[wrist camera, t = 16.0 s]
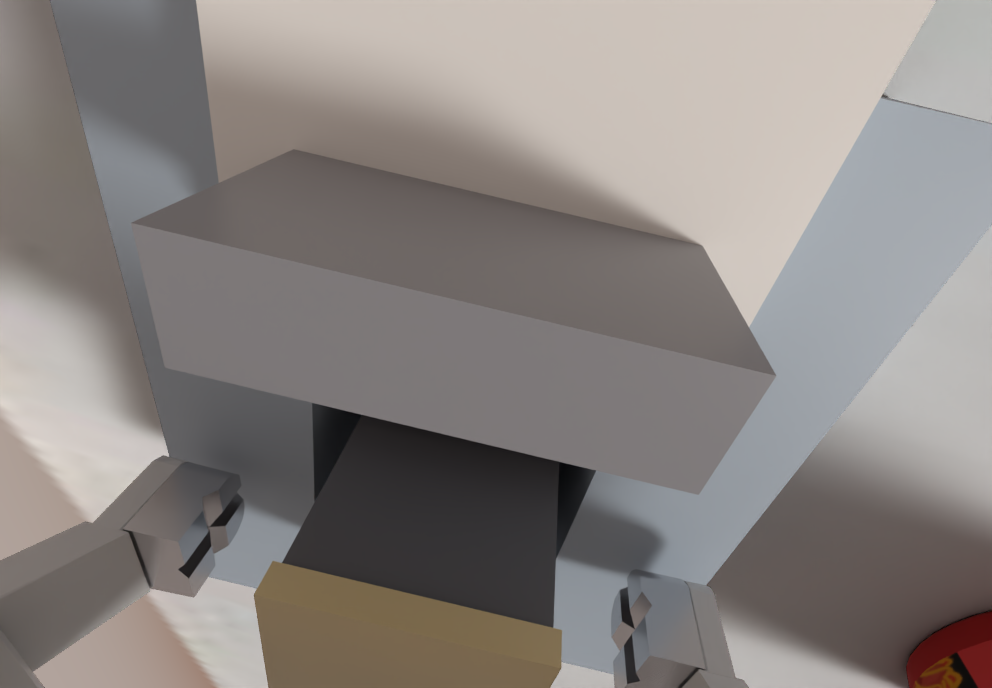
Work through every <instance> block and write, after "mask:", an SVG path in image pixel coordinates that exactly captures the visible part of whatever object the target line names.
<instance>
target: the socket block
mask: <svg viewBox="0 0 992 688" xmlns="http://www.w3.org/2000/svg"><path fill="white" fill-rule="evenodd" d="M50 3H51V6H52V10H53V14H54V18H55V22H56V26H57V29H58V33H59V37H60V41H61V45H62V48H63V52H64V56H65V60H66V64H67V67H68V71H69V75H70V79H71V83H72V87H73V90H74V94H75V98H76V102H77V106H78V109H79V113H80V117H81V121H82V125H83V129H84V132H85V136H86V140H87V144H88V148H89V151H90V155H91V159H92V163H93V167H94V170H95V174H96V178H97V182H98V186H99V190H100V193H101V197H102V201H103V205H104V209H105V212H106V216H107V220H108V224H109V228H110V232H111V235H112V239H113V243H114V247H115V251H116V254H117V258H118V262H119V266H120V270H121V273H122V277H123V281H124V285H125V289H126V293H127V296H128V300H129V304H130V308H131V312H132V315H133V319H134V323H135V327H136V331H137V335H138V338H139V342H140V346H141V350H142V354H143V357H144V361H145V365H146V369H147V373H148V376H149V380H150V384H151V388H152V392H153V396H154V399H155V403H156V407H157V411H158V415H159V418H160V422H161V426H162V430H163V434H164V438H165V441H166V445H167V449H168V453H169V457H172V458H176V459H180V460H184V461H189V462H191V463H195V464H199V465H203V466H207V467H211V468H215V469H219V470H223V471H227V472H231V473H235V474H239V476H240V480H241V485H242V486H241V487H240V488H239V490H238V491H237V493H238V494H239V495H240V496H241V497H242V498H243V499H244V506H245V509H244V516H243V520H242V522H241V524H240V527H239V529H238V532H237V534H236V535H235V537H234V538H233V540H232V541H231V543H230V545H229V546H227V547H225V548H224V549H222V550H220V551H218V552H217V553H215V567H214V569H213V570H212V572H211V573H210V575H209V576H208V577H211V578H215V579H219V580H223V581H228V582H232V583H236V584H240V585H244V586H248V587H253V588H258V586H259V585H260V583H261V581H262V579H263V577H264V576H265V574H266V572H267V570H268V568H269V567H270V565H271V563H272V561H276V562H280V563H282V562H283V560H284V558H285V556H286V554H287V553H288V551H289V549H290V547H291V545H292V543H293V541H294V540H295V538H296V536H297V534H298V532H299V530H300V528H301V527H302V525H303V523H304V521H305V519H306V517H307V516H308V514H309V512H310V510H311V508H312V506H313V504H314V503H315V501H316V499H317V497H318V495H319V493H320V491H321V490H322V488H323V486H324V484H325V482H326V480H327V479H328V477H329V475H330V473H331V471H332V469H333V467H334V466H335V464H336V462H337V460H338V458H339V456H340V454H341V453H342V451H343V449H344V447H345V445H346V443H347V441H348V440H349V438H350V436H351V434H352V432H353V430H354V429H355V427H356V425H357V423H358V421H359V419H360V417H361V416H362V415H361V414H357V413H353V412H348V411H344V410H340V409H336V408H332V407H327V406H323V405H319V404H315V403H311V402H307V401H302V400H298V399H294V398H290V397H286V396H281V395H277V394H273V393H269V392H265V391H260V390H256V389H252V388H248V387H244V386H239V385H235V384H231V383H227V382H223V381H218V380H214V379H210V378H206V377H202V376H198V375H193V374H189V373H185V372H181V371H177V370H172V369H168V368H165V366H164V362H163V358H162V353H161V349H160V345H159V341H158V336H157V332H156V328H155V324H154V319H153V315H152V311H151V307H150V302H149V298H148V294H147V290H146V285H145V281H144V277H143V273H142V268H141V264H140V260H139V256H138V251H137V247H136V243H135V239H134V234H133V230H132V226H131V223H132V222H134V221H136V220H138V219H140V218H143V217H145V216H147V215H149V214H151V213H154V212H156V211H158V210H160V209H163V208H165V207H167V206H169V205H171V204H174V203H176V202H178V201H180V200H182V199H185V198H187V197H189V196H191V195H193V194H196V193H198V192H200V191H202V190H204V189H207V188H209V187H211V186H213V185H216V184H218V183H219V181H218V173H217V165H216V157H215V149H214V141H213V133H212V125H211V117H210V109H209V101H208V93H207V85H206V77H205V69H204V61H203V53H202V45H201V37H200V29H199V21H198V13H197V4H196V0H50ZM991 225H992V123H988V122H984V121H980V120H976V119H972V118H968V117H964V116H960V115H956V114H951V113H947V112H943V111H939V110H935V109H931V108H927V107H923V106H919V105H915V104H911V103H906V102H902V101H898V100H894V99H890V98H886V97H881V98H880V100H879V101H878V103H877V105H876V107H875V108H874V110H873V112H872V114H871V115H870V117H869V119H868V121H867V122H866V124H865V126H864V128H863V129H862V131H861V133H860V135H859V136H858V138H857V140H856V142H855V143H854V145H853V147H852V149H851V150H850V152H849V154H848V155H847V157H846V159H845V161H844V162H843V164H842V166H841V168H840V169H839V171H838V173H837V175H836V176H835V178H834V180H833V182H832V183H831V185H830V187H829V189H828V190H827V192H826V194H825V196H824V197H823V199H822V201H821V203H820V204H819V206H818V208H817V210H816V211H815V213H814V215H813V217H812V218H811V220H810V222H809V224H808V225H807V227H806V229H805V231H804V232H803V234H802V236H801V238H800V239H799V241H798V243H797V245H796V246H795V248H794V250H793V252H792V253H791V255H790V257H789V258H788V260H787V262H786V264H785V265H784V267H783V269H782V271H781V272H780V274H779V276H778V278H777V279H776V281H775V283H774V285H773V286H772V288H771V290H770V292H769V293H768V295H767V297H766V299H765V300H764V302H763V304H762V306H761V307H760V309H759V311H758V313H757V314H756V316H755V318H754V320H753V321H752V323H751V325H750V327H749V328H750V330H751V332H752V334H753V335H754V337H755V339H756V341H757V342H758V344H759V346H760V348H761V349H762V351H763V353H764V355H765V356H766V358H767V360H768V362H769V364H770V365H771V367H772V369H773V371H774V372H775V374H776V378H775V379H774V381H773V382H772V384H771V385H770V387H769V388H768V390H767V391H766V393H765V394H764V396H763V397H762V399H761V400H760V402H759V404H758V405H757V407H756V408H755V410H754V411H753V413H752V414H751V416H750V417H749V419H748V420H747V422H746V423H745V425H744V426H743V428H742V430H741V431H740V433H739V434H738V436H737V437H736V439H735V440H734V442H733V443H732V445H731V446H730V448H729V449H728V451H727V452H726V454H725V456H724V457H723V459H722V460H721V462H720V463H719V465H718V466H717V468H716V469H715V471H714V472H713V474H712V475H711V477H710V479H709V480H708V482H707V483H706V485H705V486H704V488H703V489H702V491H701V492H700V494H699V495H696V494H692V493H688V492H684V491H680V490H675V489H671V488H667V487H663V486H659V485H655V484H650V483H646V482H642V481H638V480H634V479H629V478H625V477H621V476H617V475H613V474H608V473H604V472H600V471H596V470H592V469H587V468H583V467H579V466H575V465H571V464H566V463H562V462H559V483H558V512H557V540H556V569H555V598H554V626H553V628H556V629H560V630H562V655H561V662H564V663H568V664H572V665H577V666H581V667H585V668H589V669H593V670H597V671H601V672H606V673H610V674H614V670H613V661H614V659H615V658H616V656H617V655H618V653H619V652H620V650H619V649H618V647H617V646H616V644H615V642H614V641H613V639H612V637H611V613H612V608H613V604H614V599H615V597H616V596H617V594H618V592H619V590H620V589H623V588H626V587H628V584H627V577H628V576H629V574H630V572H631V571H632V570H635V569H638V570H643V571H647V572H652V573H656V574H661V575H665V576H670V577H674V578H679V579H682V580H684V581H688V582H693V583H697V584H702V585H707V584H708V582H709V581H710V580H711V578H712V577H713V576H714V575H715V573H716V572H717V571H718V570H719V568H720V567H721V566H722V565H723V563H724V562H725V561H726V560H727V558H728V557H729V556H730V555H731V553H732V552H733V551H734V549H735V548H736V547H737V546H738V544H739V543H740V542H741V541H742V539H743V538H744V537H745V536H746V534H747V533H748V532H749V531H750V529H751V528H752V527H753V525H754V524H755V523H756V522H757V520H758V519H759V518H760V517H761V515H762V514H763V513H764V512H765V510H766V509H767V508H768V507H769V505H770V504H771V503H772V502H773V500H774V499H775V498H776V496H777V495H778V494H779V493H780V491H781V490H782V489H783V488H784V486H785V485H786V484H787V483H788V481H789V480H790V479H791V478H792V476H793V475H794V474H795V472H796V471H797V470H798V469H799V467H800V466H801V465H802V464H803V462H804V461H805V460H806V459H807V457H808V456H809V455H810V454H811V452H812V451H813V450H814V449H815V447H816V446H817V445H818V443H819V442H820V441H821V440H822V438H823V437H824V436H825V435H826V433H827V432H828V431H829V430H830V428H831V427H832V426H833V425H834V423H835V422H836V421H837V419H838V418H839V417H840V416H841V414H842V413H843V412H844V411H845V409H846V408H847V407H848V406H849V404H850V403H851V402H852V401H853V399H854V398H855V397H856V396H857V394H858V393H859V392H860V390H861V389H862V388H863V387H864V385H865V384H866V383H867V382H868V380H869V379H870V378H871V377H872V375H873V374H874V373H875V372H876V370H877V369H878V368H879V366H880V365H881V364H882V363H883V361H884V360H885V359H886V358H887V356H888V355H889V354H890V353H891V351H892V350H893V349H894V348H895V346H896V345H897V344H898V343H899V341H900V340H901V339H902V337H903V336H904V335H905V334H906V332H907V331H908V330H909V329H910V327H911V326H912V325H913V324H914V322H915V321H916V320H917V319H918V317H919V316H920V315H921V313H922V312H923V311H924V310H925V308H926V307H927V306H928V305H929V303H930V302H931V301H932V300H933V298H934V297H935V296H936V295H937V293H938V292H939V291H940V290H941V288H942V287H943V286H944V284H945V283H946V282H947V281H948V279H949V278H950V277H951V276H952V274H953V273H954V272H955V271H956V269H957V268H958V267H959V266H960V264H961V263H962V262H963V261H964V259H965V258H966V257H967V255H968V254H969V253H970V252H971V250H972V249H973V248H974V247H975V245H976V244H977V243H978V242H979V240H980V239H981V238H982V237H983V235H984V234H985V233H986V231H987V230H988V229H989V228H990V226H991Z"/></svg>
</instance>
